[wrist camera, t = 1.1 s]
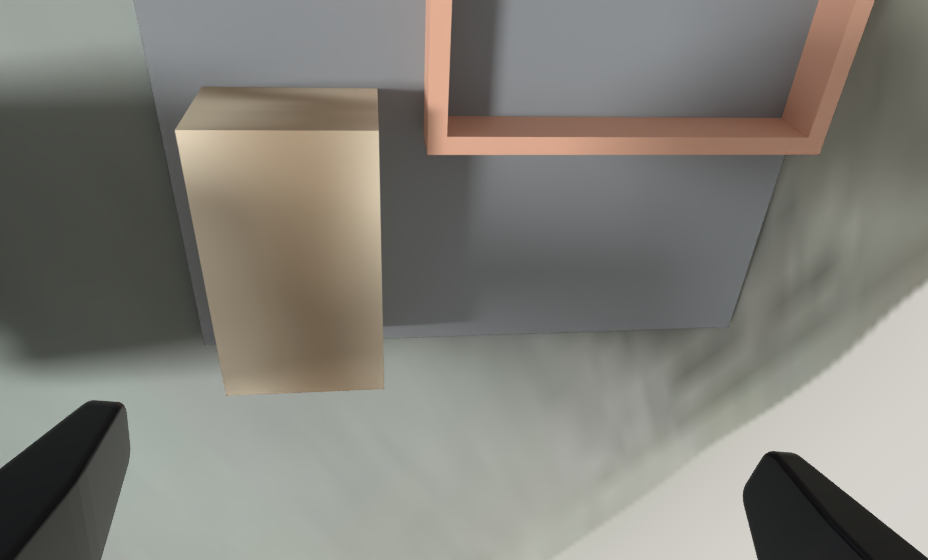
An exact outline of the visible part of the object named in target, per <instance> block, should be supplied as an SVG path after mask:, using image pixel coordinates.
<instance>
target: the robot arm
mask: <svg viewBox="0 0 928 560" xmlns="http://www.w3.org/2000/svg"><path fill="white" fill-rule="evenodd" d="M129 457H130V440H129V430H128V421H127V412H126V408H125V406H124V405H123V404H122V403H120V402H110V401H97V400H92V401H89V402H86V403H85V404H83V405H82V406H80V407H79V408H78V409H77V410H75V411H74V412H73V413H71V414H70V415H69V416H68V417H66V418H65V419H64V420H62V421H61V422H60V423H59V424H57V425H56V426H55V427H53V428H52V429H51V430H50V431H48V432H47V433H46V434H44V435H43V436H42V437H41V438H39V439H38V440H37V441H35V442H34V443H33V444H32V445H30V446H29V447H28V448H26V449H25V450H24V451H23V452H21V453H20V454H19V455H17V456H16V457H15V458H14V459H12V460H11V461H10V462H8V463H7V464H6V465H4V466H3V467H2V468H1V469H0V560H101V557H102V554H103V550H104V547H105V543H106V540H107V536H108V533H109V530H110V526H111V523H112V519H113V516H114V512H115V509H116V505H117V502H118V498H119V495H120V491H121V488H122V484H123V481H124V477H125V474H126V470H127V467H128V463H129ZM743 502H744V507H745V511H746V515H747V519H748V522H749V527H750V531H751V535H752V539H753V542H754V546H755V550H756V555H757V558H758V560H928V558H927V557H926V556H924V555H923V554H922V553H921V552H919V551H918V550H917V549H915V548H914V547H913V546H912V545H910V544H909V543H908V542H907V541H906V540H904V539H903V538H902V537H900V536H899V535H898V534H897V533H895V532H894V531H893V530H892V529H891V528H889V527H888V526H887V525H885V524H884V523H883V522H882V521H880V520H879V519H878V518H877V517H875V516H874V515H873V514H872V513H870V512H869V511H868V510H867V509H865V508H864V507H863V506H862V505H860V504H859V503H858V502H857V501H855V500H854V499H853V498H852V497H850V496H849V495H848V494H847V493H845V492H844V491H843V490H841V489H840V488H839V487H838V486H837V485H835V484H834V483H833V482H831V481H830V480H829V479H828V478H827V477H825V476H824V475H823V474H822V473H820V472H819V471H818V470H816V469H815V468H814V467H813V466H811V465H810V464H809V463H808V462H806V461H805V460H804V459H803V458H801V457H800V456H798V455H797V454H794V453H789V452H776V451H772V452H768V453H766V454H765V455H764V456H763V457H762V459H761V460H760V462H759V464H758V465H757V467H756V469H755V470H754V472H753V473H752V475H751V477H750V479H749V480H748V482H747V483H746V485H745V487H744V490H743Z"/></svg>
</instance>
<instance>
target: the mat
mask: <svg viewBox="0 0 928 560" xmlns="http://www.w3.org/2000/svg"><path fill="white" fill-rule="evenodd" d="M818 1H819V0H452V17H451V44H450V71H449V98H448V116H524V117H685V118H782V115H783V112H784V109H785V106H786V102H787V99H788V96H789V93H790V90H791V87H792V83H793V80H794V77H795V74H796V71H797V68H798V65H799V61H800V58H801V55H802V52H803V49H804V46H805V42H806V39H807V36H808V33H809V30H810V27H811V24H812V20H813V17H814V14H815V11H816V8H817V5H818ZM134 5H135V10H136V15H137V20H138V25H139V29H140V34H141V39H142V44H143V49H144V54H145V59H146V63H147V68H148V73H149V78H150V83H151V88H152V93H153V97H154V102H155V107H156V112H157V117H158V122H159V127H160V131H161V136H162V141H163V146H164V151H165V156H166V161H167V165H168V170H169V175H170V180H171V185H172V190H173V195H174V199H175V204H176V209H177V214H178V219H179V224H180V229H181V233H182V238H183V243H184V248H185V253H186V258H187V263H188V267H189V272H190V277H191V282H192V287H193V292H194V297H195V301H196V306H197V311H198V316H199V321H200V326H201V331H202V335H203V340H204V345H207V344H216V340H215V335H214V330H213V325H212V320H211V314H210V309H209V304H208V299H207V294H206V289H205V283H204V278H203V273H202V268H201V263H200V258H199V252H198V247H197V242H196V237H195V232H194V227H193V221H192V216H191V211H190V206H189V201H188V196H187V190H186V185H185V180H184V175H183V170H182V165H181V159H180V154H179V149H178V144H177V139H176V134H175V129H176V127H177V126H178V124H179V123H180V121H181V119H182V118H183V116H184V114H185V113H186V111H187V110H188V108H189V106H190V105H191V103H192V102H193V100H194V98H195V97H196V95H197V94H198V92H199V90H200V89H201V87H291V88H377V93H378V124H379V169H380V217H381V265H382V312H383V339H387V338H417V337H448V336H478V335H508V334H538V333H568V332H598V331H628V330H658V329H688V328H718V327H729V324H730V321H731V318H732V315H733V312H734V309H735V306H736V303H737V300H738V297H739V294H740V290H741V287H742V284H743V281H744V278H745V275H746V272H747V269H748V266H749V263H750V260H751V257H752V254H753V251H754V248H755V245H756V242H757V239H758V236H759V233H760V230H761V227H762V224H763V221H764V218H765V215H766V212H767V209H768V206H769V203H770V200H771V197H772V194H773V191H774V188H775V185H776V182H777V178H778V175H779V172H780V169H781V166H782V163H783V160H784V157H785V155H427V150H426V145H425V139H424V74H425V16H426V0H134Z"/></svg>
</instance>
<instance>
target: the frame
mask: <svg viewBox="0 0 928 560" xmlns="http://www.w3.org/2000/svg"><path fill="white" fill-rule="evenodd" d="M874 1H875V0H819V1H818V5H817V8H816V11H815V14H814V17H813V20H812V24H811V27H810V30H809V33H808V36H807V39H806V42H805V46H804V49H803V52H802V55H801V58H800V61H799V65H798V68H797V71H796V74H795V77H794V80H793V83H792V87H791V90H790V93H789V96H788V99H787V102H786V106H785V109H784V112H783V115H782V118H685V117H524V116H448V98H449V71H450V44H451V17H452V0H426V16H425V74H424V139H425V145H426V150H427V155H819V154H820V151H821V149H822V146H823V143H824V140H825V137H826V135H827V132H828V129H829V126H830V124H831V121H832V118H833V115H834V112H835V110H836V107H837V104H838V101H839V99H840V96H841V93H842V90H843V87H844V85H845V82H846V79H847V76H848V73H849V71H850V68H851V65H852V62H853V60H854V57H855V54H856V51H857V48H858V46H859V43H860V40H861V37H862V35H863V32H864V29H865V26H866V23H867V21H868V18H869V15H870V12H871V10H872V7H873V4H874Z"/></svg>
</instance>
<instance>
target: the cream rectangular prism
mask: <svg viewBox="0 0 928 560" xmlns="http://www.w3.org/2000/svg"><path fill="white" fill-rule="evenodd" d="M175 134H176V139H177V144H178V149H179V154H180V159H181V165H182V170H183V175H184V180H185V185H186V190H187V196H188V201H189V206H190V211H191V216H192V221H193V227H194V232H195V237H196V242H197V247H198V252H199V258H200V263H201V268H202V273H203V278H204V283H205V289H206V294H207V299H208V304H209V309H210V314H211V320H212V325H213V330H214V335H215V340H216V345H217V351H218V356H219V361H220V366H221V371H222V376H223V382H224V387H225V392H226V396H230V395H254V394H278V393H301V392H325V391H349V390H372V389H384V360H383V312H382V265H381V217H380V169H379V124H378V93H377V88H291V87H201V89H200V90H199V92H198V94H197V95H196V97H195V98H194V100H193V102H192V103H191V105H190V106H189V108H188V110H187V111H186V113H185V114H184V116H183V118H182V119H181V121H180V123H179V124H178V126H177V127H176V129H175Z"/></svg>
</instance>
